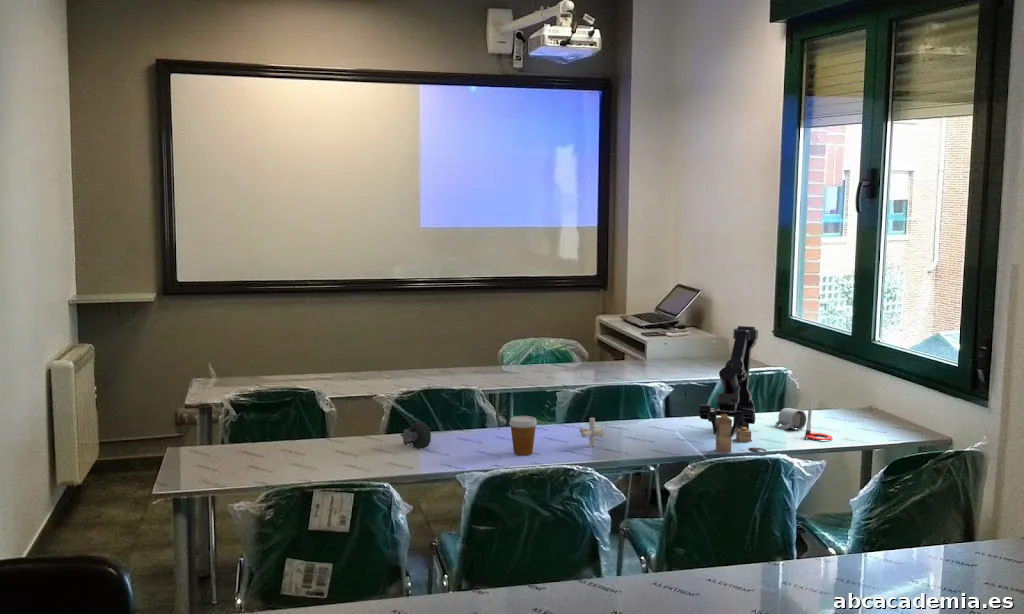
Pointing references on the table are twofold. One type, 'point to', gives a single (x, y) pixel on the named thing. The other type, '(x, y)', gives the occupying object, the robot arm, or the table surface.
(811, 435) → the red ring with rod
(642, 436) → the table surface
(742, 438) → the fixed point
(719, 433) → the point post
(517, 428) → the disposable coffee cup
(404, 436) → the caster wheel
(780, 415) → the ceramic mug
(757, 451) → the plate
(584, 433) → the pipe connector
